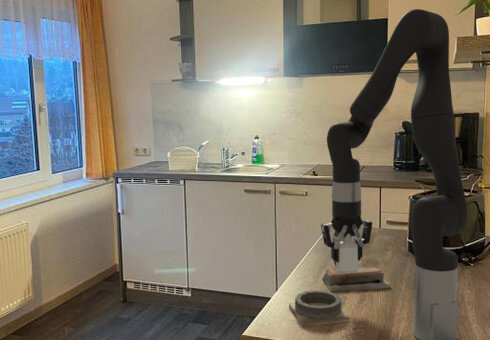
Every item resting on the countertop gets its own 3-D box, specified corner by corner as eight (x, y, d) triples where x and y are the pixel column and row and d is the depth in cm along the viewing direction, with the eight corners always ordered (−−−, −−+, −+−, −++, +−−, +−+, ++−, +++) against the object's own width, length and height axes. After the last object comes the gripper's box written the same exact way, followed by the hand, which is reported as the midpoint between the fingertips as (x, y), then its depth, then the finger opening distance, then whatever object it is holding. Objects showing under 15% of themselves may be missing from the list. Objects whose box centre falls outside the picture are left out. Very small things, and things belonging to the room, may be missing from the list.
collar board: (349, 321, 133) (349, 305, 133) (303, 326, 131) (303, 310, 130) (331, 302, 145) (331, 288, 144) (289, 307, 142) (289, 292, 142)
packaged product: (330, 276, 152) (321, 265, 162) (330, 293, 153) (321, 280, 163) (391, 273, 154) (379, 262, 164) (390, 289, 155) (378, 277, 165)
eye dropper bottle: (355, 275, 139) (355, 230, 138) (334, 273, 142) (334, 228, 140) (359, 270, 143) (359, 226, 142) (338, 268, 146) (338, 225, 144)
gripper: (326, 202, 135) (327, 267, 137) (378, 198, 138) (378, 261, 140) (315, 197, 142) (316, 259, 144) (365, 194, 145) (365, 254, 147)
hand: (347, 260), depth 142 cm, fingers closed on eye dropper bottle, 5 cm apart
